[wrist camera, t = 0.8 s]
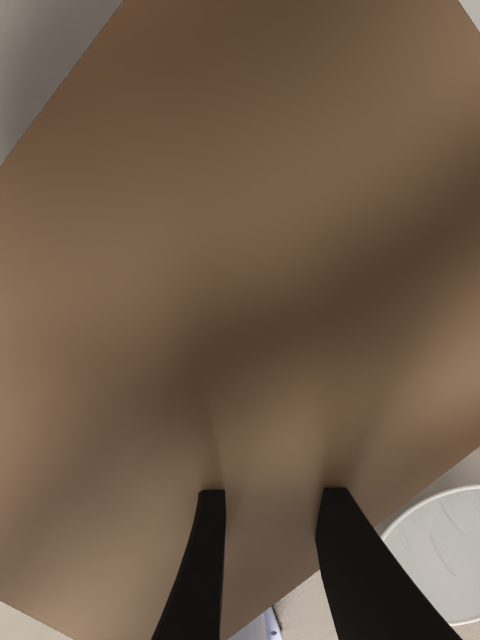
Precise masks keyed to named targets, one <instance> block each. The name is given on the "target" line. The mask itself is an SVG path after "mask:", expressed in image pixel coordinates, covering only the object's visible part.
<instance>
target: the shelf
mask: <svg viewBox="0 0 480 640" xmlns="http://www.w3.org/2000/svg"><path fill="white" fill-rule="evenodd" d="M478 447H480V32H479V31H478V29H477V28H476V26H475V25H474V23H473V22H472V20H471V19H470V17H469V16H468V14H467V13H466V11H465V10H464V8H463V7H462V5H461V4H460V2H459V1H458V0H124V1H123V2H122V3H121V5H120V6H119V7H118V9H117V10H116V11H115V13H114V14H113V15H112V17H111V18H110V19H109V21H108V22H107V23H106V25H105V26H104V28H103V29H102V30H101V32H100V33H99V34H98V36H97V37H96V38H95V40H94V41H93V42H92V44H91V45H90V46H89V48H88V49H87V50H86V52H85V53H84V54H83V56H82V57H81V58H80V60H79V61H78V62H77V64H76V65H75V67H74V68H73V69H72V71H71V72H70V73H69V75H68V76H67V77H66V79H65V80H64V81H63V83H62V84H61V85H60V87H59V88H58V89H57V91H56V92H55V93H54V95H53V96H52V97H51V99H50V100H49V101H48V103H47V104H46V105H45V107H44V108H43V110H42V111H41V112H40V114H39V115H38V116H37V118H36V119H35V120H34V122H33V123H32V124H31V126H30V127H29V128H28V130H27V131H26V132H25V134H24V135H23V136H22V138H21V139H20V140H19V142H18V143H17V144H16V146H15V147H14V148H13V150H12V151H11V153H10V154H9V155H8V157H7V158H6V159H5V161H4V162H3V163H2V165H1V166H0V601H2V602H4V603H5V604H7V605H9V606H11V607H13V608H15V609H17V610H19V611H21V612H23V613H25V614H26V615H28V616H30V617H32V618H34V619H36V620H38V621H40V622H42V623H44V624H45V625H47V626H49V627H51V628H53V629H55V630H57V631H59V632H61V633H63V634H64V635H66V636H68V637H70V638H72V639H74V640H151V638H152V636H153V634H154V631H155V629H156V627H157V624H158V622H159V620H160V617H161V615H162V612H163V610H164V607H165V605H166V602H167V599H168V597H169V594H170V592H171V589H172V587H173V584H174V581H175V579H176V576H177V573H178V570H179V567H180V564H181V561H182V558H183V555H184V552H185V549H186V546H187V543H188V540H189V536H190V532H191V529H192V525H193V521H194V517H195V512H196V507H197V501H198V493H199V492H200V491H202V490H224V489H225V500H226V535H225V558H224V581H223V597H222V613H221V628H220V640H228V639H229V638H231V637H232V636H233V635H235V634H236V633H237V632H239V631H240V630H241V629H242V628H244V627H245V626H246V625H248V624H249V623H250V622H252V621H253V620H254V619H255V618H257V617H258V616H259V615H261V614H262V613H263V612H265V611H266V610H267V609H269V608H270V607H271V606H272V605H274V604H275V603H276V602H278V601H279V600H280V599H282V598H283V597H284V596H285V595H287V594H288V593H289V592H291V591H292V590H293V589H295V588H296V587H297V586H298V585H300V584H301V583H302V582H304V581H305V580H306V579H308V578H309V577H310V576H312V575H313V574H314V573H315V572H317V571H318V570H319V569H320V566H319V560H318V555H317V548H316V542H315V534H316V527H317V520H318V515H319V510H320V505H321V500H322V495H323V490H324V488H336V487H346V488H347V489H348V490H349V492H350V493H351V495H352V496H353V498H354V499H355V501H356V502H357V504H358V505H359V507H360V508H361V510H362V511H363V513H364V514H365V516H366V517H367V519H368V520H369V522H370V523H371V525H372V526H373V528H374V527H375V526H377V525H378V524H379V523H381V522H382V521H383V520H384V519H386V518H387V517H388V516H390V515H391V514H392V513H394V512H395V511H396V510H398V509H399V508H400V507H401V506H403V505H404V504H405V503H407V502H408V501H409V500H411V499H412V498H413V497H414V496H416V495H417V494H418V493H420V492H421V491H422V490H424V489H425V488H426V487H427V486H429V485H430V484H431V483H433V482H434V481H435V480H437V479H438V478H439V477H440V476H442V475H443V474H444V473H446V472H447V471H448V470H450V469H451V468H452V467H454V466H455V465H456V464H457V463H459V462H460V461H461V460H463V459H464V458H465V457H467V456H468V455H469V454H470V453H472V452H473V451H474V450H476V449H477V448H478Z"/></svg>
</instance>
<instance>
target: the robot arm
mask: <svg viewBox="0 0 480 640" xmlns="http://www.w3.org/2000/svg"><path fill="white" fill-rule="evenodd" d="M225 535H226V500H225V489H224V490H202V491H200V492H199V493H198V501H197V507H196V512H195V517H194V521H193V525H192V529H191V532H190V536H189V540H188V543H187V546H186V549H185V552H184V555H183V558H182V561H181V564H180V567H179V570H178V573H177V576H176V579H175V581H174V584H173V587H172V589H171V592H170V594H169V597H168V599H167V602H166V605H165V607H164V610H163V612H162V615H161V617H160V620H159V622H158V624H157V627H156V629H155V631H154V634H153V636H152V638H151V640H220V628H221V613H222V597H223V581H224V558H225ZM315 542H316V548H317V555H318V560H319V566H320V571H321V577H322V581H323V584H324V588H325V592H326V595H327V599H328V603H329V606H330V610H331V614H332V617H333V621H334V625H335V628H336V632H337V635H338V639H339V640H462V639H461V637H460V636H459V635H458V634H457V633H456V632H455V631H454V630H453V629H452V627H451V626H450V625H449V624H448V623H447V622H446V620H445V619H444V618H443V617H442V616H441V615H440V613H439V612H438V611H437V610H436V609H435V608H434V606H433V605H432V604H431V603H430V601H429V600H428V599H427V598H426V597H425V595H424V594H423V593H422V592H421V590H420V589H419V588H418V587H417V585H416V584H415V583H414V582H413V580H412V579H411V578H410V576H409V575H408V574H407V573H406V571H405V570H404V569H403V567H402V566H401V565H400V563H399V562H398V561H397V559H396V558H395V557H394V555H393V554H392V553H391V551H390V550H389V549H388V547H387V546H386V544H385V543H384V542H383V540H382V539H381V538H380V536H379V535H378V533H377V532H376V530H375V529H374V528H373V526H372V525H371V523H370V522H369V520H368V519H367V517H366V516H365V514H364V513H363V511H362V510H361V508H360V507H359V505H358V504H357V502H356V501H355V499H354V498H353V496H352V495H351V493H350V492H349V490H348V489H347V488H346V487H336V488H324V490H323V495H322V500H321V505H320V510H319V515H318V520H317V527H316V534H315ZM228 640H283V638H282V634H281V631H280V628H279V625H278V623H277V620H276V617H275V615H274V612H273V609H272V607H270V608H269V609H267V610H266V611H265V612H263V613H262V614H261V615H259V616H258V617H257V618H255V619H254V620H253V621H252V622H250V623H249V624H248V625H246V626H245V627H244V628H242V629H241V630H240V631H239V632H237V633H236V634H235V635H233V636H232V637H231V638H229V639H228Z"/></svg>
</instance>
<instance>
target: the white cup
mask: <svg viewBox="0 0 480 640" xmlns="http://www.w3.org/2000/svg"><path fill="white" fill-rule="evenodd" d="M374 529H375V530H376V532H377V533H378V535H379V536H380V538H381V539H382V540H383V542H384V543H385V544H386V546H387V547H388V549H389V550H390V551H391V553H392V554H393V555H394V557H395V558H396V559H397V561H398V562H399V563H400V565H401V566H402V567H403V569H404V570H405V571H406V573H407V574H408V575H409V576H410V578H411V579H412V580H413V582H414V583H415V584H416V585H417V587H418V588H419V589H420V590H421V592H422V593H423V594H424V595H425V597H426V598H427V599H428V600H429V601H430V603H431V604H432V605H433V606H434V608H435V609H436V610H437V611H438V612H439V613H440V615H441V616H442V617H443V618H444V619H445V620H446V622H447V623H448V624H449V625H450V626H457V625H463V624H468V623H472V622H476V621H479V620H480V447H478V448H477V449H476V450H474V451H473V452H472V453H470V454H469V455H468V456H467V457H465V458H464V459H463V460H461V461H460V462H459V463H457V464H456V465H455V466H454V467H452V468H451V469H450V470H448V471H447V472H446V473H444V474H443V475H442V476H440V477H439V478H438V479H437V480H435V481H434V482H433V483H431V484H430V485H429V486H427V487H426V488H425V489H424V490H422V491H421V492H420V493H418V494H417V495H416V496H414V497H413V498H412V499H411V500H409V501H408V502H407V503H405V504H404V505H403V506H401V507H400V508H399V509H398V510H396V511H395V512H394V513H392V514H391V515H390V516H388V517H387V518H386V519H384V520H383V521H382V522H381V523H379V524H378V525H377V526H375V527H374Z"/></svg>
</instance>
